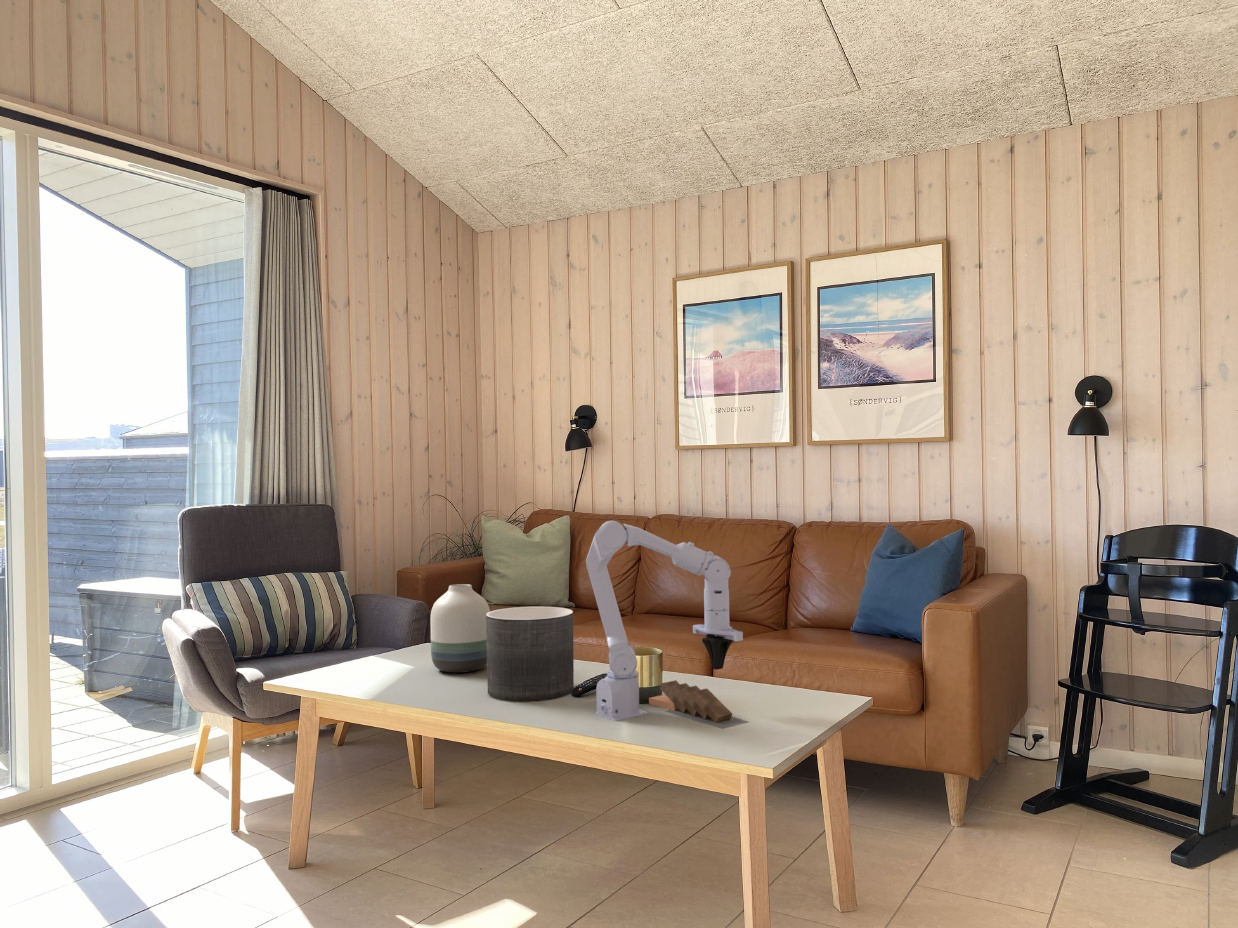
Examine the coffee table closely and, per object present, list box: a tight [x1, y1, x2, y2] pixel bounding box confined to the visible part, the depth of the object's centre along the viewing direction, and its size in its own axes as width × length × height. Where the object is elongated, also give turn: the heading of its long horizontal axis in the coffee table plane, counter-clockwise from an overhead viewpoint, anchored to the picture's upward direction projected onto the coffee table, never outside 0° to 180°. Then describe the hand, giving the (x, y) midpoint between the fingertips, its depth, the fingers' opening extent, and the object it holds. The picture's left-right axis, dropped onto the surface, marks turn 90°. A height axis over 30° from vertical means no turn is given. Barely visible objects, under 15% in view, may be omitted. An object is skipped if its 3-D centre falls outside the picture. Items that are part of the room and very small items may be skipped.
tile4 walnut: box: [659, 680, 689, 713], centre depth 205 cm, size 4×2×9 cm
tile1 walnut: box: [691, 688, 733, 723], centre depth 196 cm, size 4×2×9 cm
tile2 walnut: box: [680, 685, 710, 720], centre depth 199 cm, size 4×2×9 cm
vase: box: [430, 583, 491, 673], centre depth 253 cm, size 17×17×24 cm
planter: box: [486, 606, 575, 703], centre depth 226 cm, size 22×22×20 cm
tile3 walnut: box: [670, 682, 700, 717], centre depth 202 cm, size 4×2×9 cm
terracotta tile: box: [648, 694, 679, 711], centre depth 208 cm, size 4×2×9 cm
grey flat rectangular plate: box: [664, 709, 750, 730], centre depth 198 cm, size 8×19×1 cm, turn 38°
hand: (717, 668), depth 203 cm, fingers closed
